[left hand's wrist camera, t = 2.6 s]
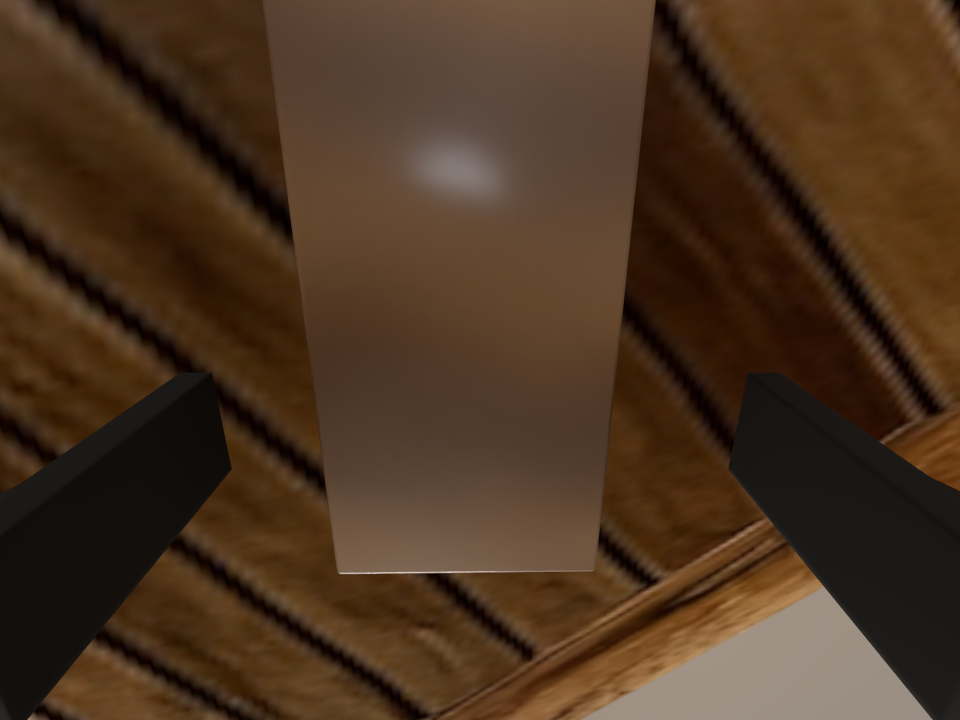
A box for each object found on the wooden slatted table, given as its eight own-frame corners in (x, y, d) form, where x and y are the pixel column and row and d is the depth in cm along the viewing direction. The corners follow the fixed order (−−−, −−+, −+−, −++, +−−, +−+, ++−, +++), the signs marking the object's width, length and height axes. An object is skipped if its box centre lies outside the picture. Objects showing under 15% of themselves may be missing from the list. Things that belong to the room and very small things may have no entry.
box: (533, 367, 24) (596, 572, 12) (404, 368, 24) (336, 575, 12) (558, -222, 16) (791, -1245, 4) (369, -224, 16) (90, -1275, 4)
